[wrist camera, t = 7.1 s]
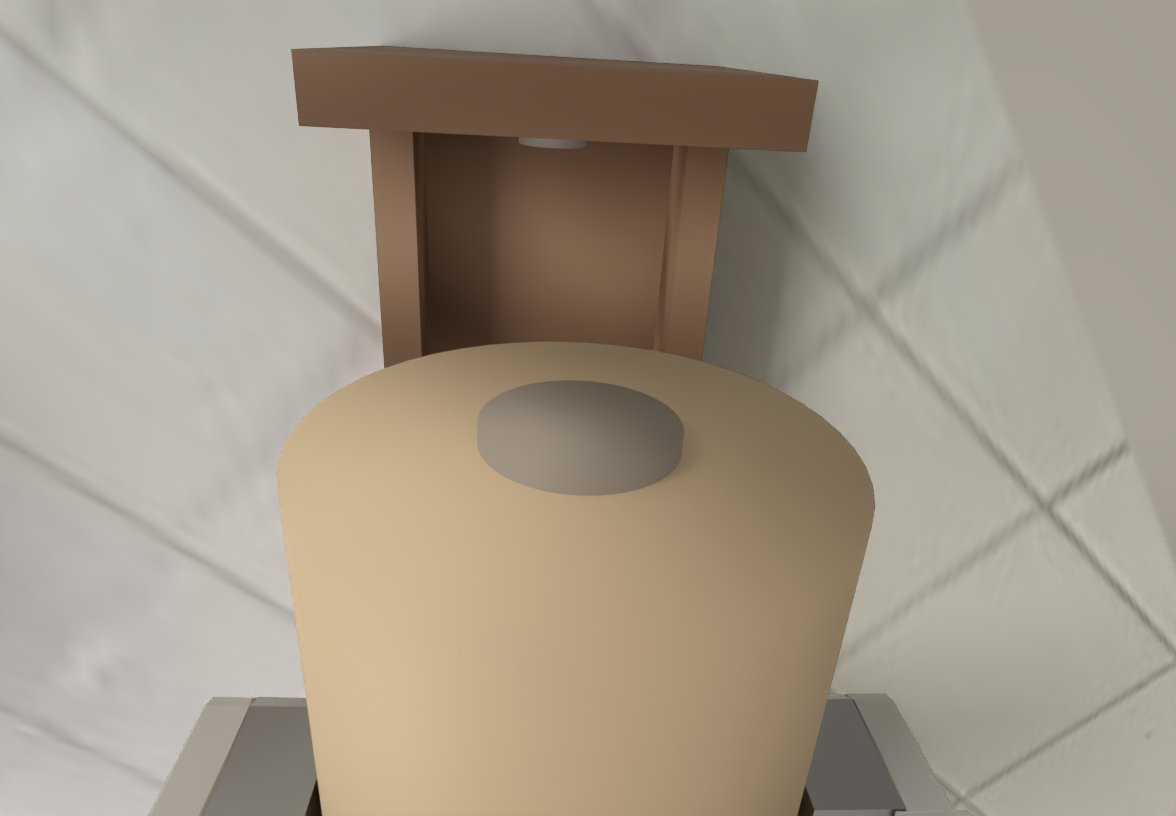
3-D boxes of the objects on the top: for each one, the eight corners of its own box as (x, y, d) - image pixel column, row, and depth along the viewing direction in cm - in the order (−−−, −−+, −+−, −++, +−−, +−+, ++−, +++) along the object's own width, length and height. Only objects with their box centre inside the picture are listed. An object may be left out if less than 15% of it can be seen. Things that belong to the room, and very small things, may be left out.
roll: (353, 318, 9) (152, 609, 4) (781, 333, 9) (1013, 617, 5) (395, 853, 13) (314, 1296, 8) (691, 850, 13) (768, 1273, 9)
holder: (379, 45, 20) (291, 48, 13) (719, 66, 21) (818, 80, 13) (405, 512, 26) (356, 692, 19) (665, 515, 27) (714, 689, 20)
